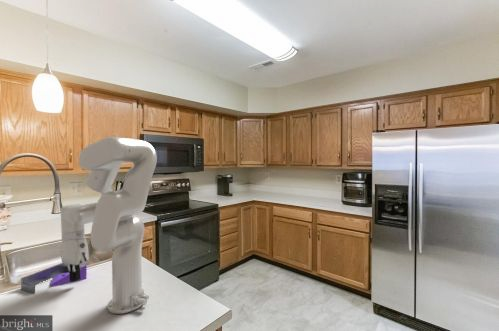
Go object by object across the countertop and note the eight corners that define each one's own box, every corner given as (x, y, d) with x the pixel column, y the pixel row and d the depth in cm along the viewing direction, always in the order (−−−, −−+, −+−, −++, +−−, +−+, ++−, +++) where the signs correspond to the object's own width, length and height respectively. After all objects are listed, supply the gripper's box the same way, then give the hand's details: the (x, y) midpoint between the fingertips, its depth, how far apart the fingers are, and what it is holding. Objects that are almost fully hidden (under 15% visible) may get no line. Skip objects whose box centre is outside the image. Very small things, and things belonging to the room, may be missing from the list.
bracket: (86, 274, 110) (86, 259, 110) (86, 280, 104) (86, 264, 104) (53, 281, 103) (52, 265, 103) (50, 288, 98) (50, 271, 98)
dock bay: (77, 274, 109) (77, 263, 109) (33, 293, 93) (33, 281, 93) (66, 272, 111) (66, 261, 111) (21, 290, 95) (20, 278, 95)
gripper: (95, 233, 99) (97, 278, 98) (70, 232, 103) (71, 274, 103) (77, 239, 91) (79, 287, 91) (50, 237, 96) (52, 282, 96)
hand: (75, 280), depth 97 cm, fingers closed
